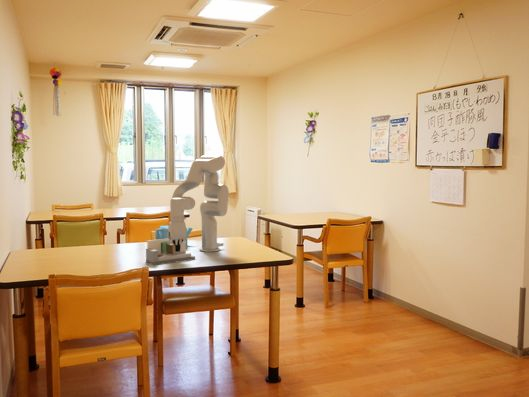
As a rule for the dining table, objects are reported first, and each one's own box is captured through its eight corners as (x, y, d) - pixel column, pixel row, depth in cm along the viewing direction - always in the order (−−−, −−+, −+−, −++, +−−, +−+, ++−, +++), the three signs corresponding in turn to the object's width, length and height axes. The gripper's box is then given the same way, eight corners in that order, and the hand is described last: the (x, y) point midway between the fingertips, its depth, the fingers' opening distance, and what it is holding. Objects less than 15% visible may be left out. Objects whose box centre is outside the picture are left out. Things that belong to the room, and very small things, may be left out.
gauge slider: (169, 256, 290) (168, 242, 289) (175, 258, 283) (175, 244, 283) (156, 257, 285) (156, 243, 284) (163, 260, 279) (162, 245, 278)
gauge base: (186, 256, 298) (186, 236, 297) (195, 259, 290) (194, 238, 289) (145, 261, 282) (145, 240, 281) (153, 264, 274) (153, 243, 273)
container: (152, 245, 335) (152, 222, 334) (188, 242, 347) (188, 220, 346) (159, 249, 320) (159, 225, 319) (196, 246, 332) (196, 223, 331)
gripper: (185, 218, 293) (186, 248, 294) (162, 219, 284) (162, 251, 285) (192, 219, 287) (192, 250, 288) (168, 221, 278) (168, 253, 279)
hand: (177, 251), depth 287 cm, fingers closed
